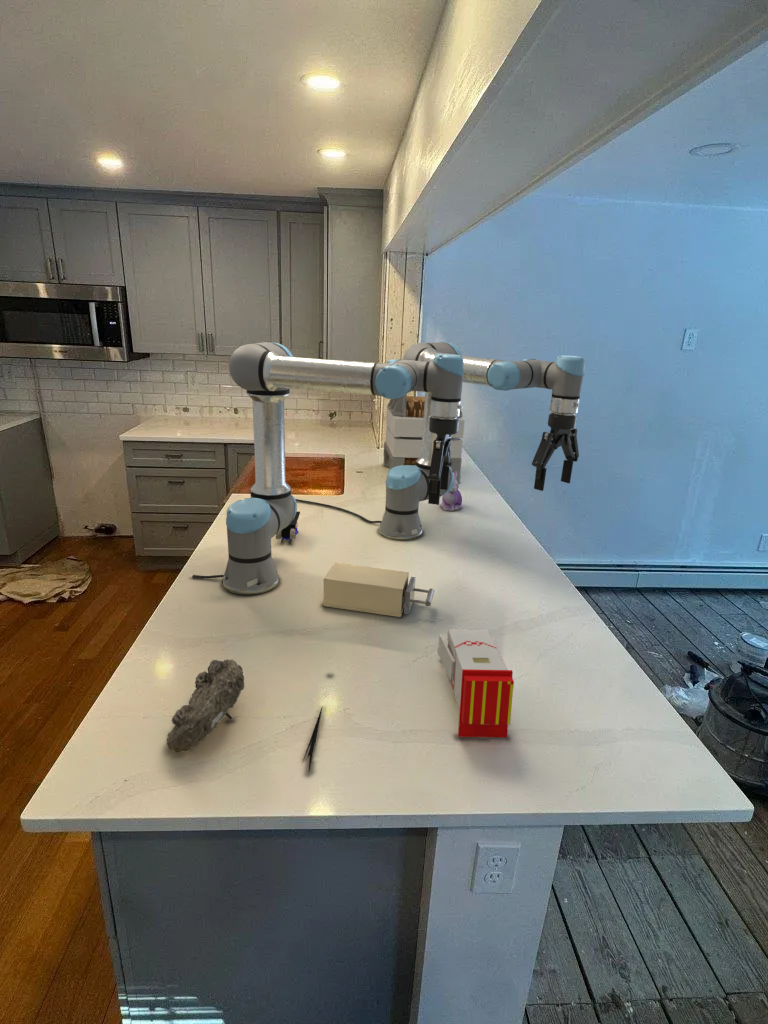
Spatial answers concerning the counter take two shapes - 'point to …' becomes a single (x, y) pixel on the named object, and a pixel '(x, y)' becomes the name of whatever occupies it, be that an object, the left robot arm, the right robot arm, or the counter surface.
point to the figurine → (452, 497)
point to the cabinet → (365, 589)
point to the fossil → (206, 705)
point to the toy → (478, 682)
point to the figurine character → (289, 530)
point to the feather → (313, 740)
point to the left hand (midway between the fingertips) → (438, 496)
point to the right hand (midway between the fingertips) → (552, 485)
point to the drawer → (410, 595)
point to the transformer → (413, 434)
